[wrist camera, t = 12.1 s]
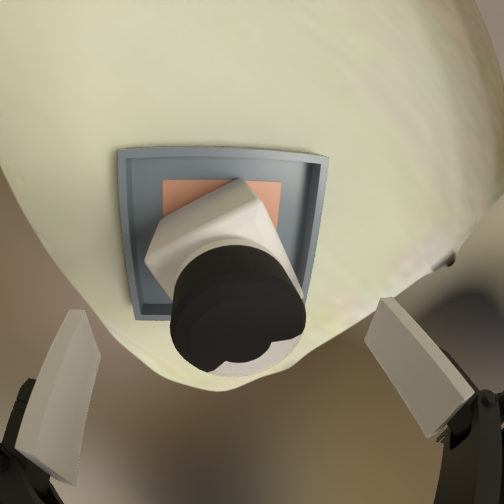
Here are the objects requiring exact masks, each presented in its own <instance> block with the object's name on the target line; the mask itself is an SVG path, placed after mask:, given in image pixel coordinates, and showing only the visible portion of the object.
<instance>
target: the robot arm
mask: <svg viewBox="0 0 504 504" xmlns="http://www.w3.org/2000/svg"><path fill="white" fill-rule="evenodd" d="M364 341H365V343H366V345H367V346H368V347H369V349H370V350H371V352H372V353H373V355H374V356H375V358H376V359H377V361H378V362H379V364H380V365H381V367H382V368H383V370H384V371H385V373H386V374H387V376H388V377H389V379H390V380H391V382H392V383H393V385H394V386H395V388H396V389H397V391H398V392H399V394H400V396H401V397H402V399H403V400H404V402H405V403H406V405H407V407H408V408H409V410H410V411H411V413H412V415H413V416H414V418H415V419H416V421H417V422H418V424H419V426H420V427H421V429H422V431H423V432H424V434H425V436H426V437H427V438H429V437H430V436H432V435H434V434H435V433H437V432H439V431H440V430H441V429H442V428H443V427H444V426H445V425H446V424H447V425H448V427H447V429H446V430H444V432H442V433H441V434H440V435H439V437H438V438H437V440H436V442H439V441H440V440H441V439H442V438H443V437H444V436H445V438H443V440H442V441H441V443H444V449H443V456H442V463H441V470H440V476H439V481H438V486H437V491H436V495H435V500H434V504H504V428H503V429H502V430H501V424H502V423H503V422H504V391H503V392H501V393H497V394H494V393H493V392H491V391H489V390H482V391H479V389H478V388H477V387H476V386H475V385H474V384H473V382H472V381H471V380H470V378H469V377H468V376H467V375H466V374H465V372H464V371H463V370H462V369H461V368H460V366H459V365H458V364H457V363H456V362H455V360H454V359H453V358H452V357H451V356H450V354H449V353H447V352H446V351H445V350H443V349H442V348H440V347H439V348H438V346H437V345H436V344H435V343H434V342H433V341H432V340H431V338H430V337H429V336H428V335H427V334H426V333H425V332H424V331H423V329H422V328H421V327H420V326H419V325H418V324H417V323H416V322H415V321H414V320H413V319H412V317H410V315H409V314H408V313H407V312H406V311H405V310H404V309H403V308H402V307H401V306H400V305H399V304H398V303H397V302H396V300H394V298H393V297H387V298H380V301H379V304H378V307H377V309H376V312H375V315H374V317H373V320H372V323H371V325H370V327H369V330H368V332H367V335H366V337H365V339H364ZM100 359H101V354H100V352H99V349H98V347H97V344H96V341H95V339H94V336H93V333H92V330H91V327H90V324H89V321H88V318H87V315H86V312H85V310H77V309H70V310H69V311H68V313H67V315H66V317H65V319H64V321H63V323H62V325H61V327H60V329H59V331H58V333H57V335H56V337H55V339H54V341H53V343H52V345H51V348H50V350H49V352H48V354H47V356H46V359H45V361H44V363H43V366H42V368H41V370H40V373H39V375H38V378H37V380H35V379H30V378H29V379H28V380H27V381H26V382H25V383H24V384H23V385H22V386H21V388H20V390H19V393H18V396H17V401H15V403H14V407H13V410H12V412H11V415H10V418H9V421H8V424H7V427H6V431H5V434H4V437H3V440H2V443H0V504H64V503H63V501H62V500H61V498H60V497H59V495H58V494H57V492H56V490H55V488H54V487H53V485H52V484H51V483H50V481H49V479H50V476H51V477H53V478H54V479H56V480H58V481H60V482H63V483H66V484H70V485H74V486H76V482H77V473H78V464H79V457H80V450H81V444H82V437H83V432H84V426H85V421H86V416H87V411H88V407H89V402H90V398H91V394H92V389H93V386H94V382H95V378H96V374H97V370H98V367H99V362H100Z"/></svg>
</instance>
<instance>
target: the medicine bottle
mask: <svg viewBox="0 0 504 504" xmlns="http://www.w3.org/2000/svg"><path fill="white" fill-rule="evenodd" d="M145 264H146V266H147V267H148V268H149V270H150V271H151V273H152V274H153V276H154V277H155V278H156V280H157V281H158V283H159V284H160V285H161V287H162V288H163V289H164V291H165V292H166V293H167V295H168V296H169V297H170V299H171V300H172V301H173V303H172V312H171V322H170V333H171V338H172V341H173V344H174V346H175V348H176V349H177V351H178V352H179V354H180V355H181V356H182V357H183V358H184V359H185V360H187V361H188V362H189V363H190V364H192V365H193V366H195V367H197V368H198V369H200V370H202V371H205V372H207V373H210V374H213V375H218V376H226V377H239V376H247V375H252V374H255V373H259V372H262V371H264V370H267V369H269V368H271V367H273V366H274V365H276V364H278V363H279V362H281V361H282V360H283V359H284V358H286V357H287V356H288V355H289V354H290V353H291V351H292V350H293V349H294V348H295V346H296V345H297V343H298V341H299V340H300V338H301V336H302V334H303V331H304V328H305V323H306V311H305V306H304V303H303V301H302V298H303V291H302V289H301V287H300V284H299V282H298V280H297V277H296V275H295V273H294V270H293V268H292V266H291V264H290V261H289V259H288V257H287V254H286V252H285V250H284V248H283V245H282V243H281V241H280V239H279V236H278V234H277V232H276V230H275V227H274V225H273V223H272V221H271V219H270V216H269V214H268V212H267V210H266V208H265V205H264V203H263V202H262V201H261V199H260V198H259V197H258V196H257V195H256V194H255V192H254V191H253V190H252V189H251V188H250V187H249V185H248V184H247V183H246V182H245V181H244V180H243V179H242V178H238V179H236V180H234V181H232V182H230V183H228V184H226V185H224V186H222V187H220V188H218V189H216V190H214V191H212V192H210V193H208V194H206V195H204V196H202V197H200V198H198V199H197V200H195V201H193V202H191V203H189V204H187V205H185V206H183V207H182V208H180V209H178V210H176V211H174V212H173V213H171V214H169V215H167V216H165V217H164V218H162V219H161V220H160V221H159V224H158V226H157V229H156V231H155V233H154V236H153V238H152V241H151V243H150V246H149V249H148V251H147V254H146V256H145Z"/></svg>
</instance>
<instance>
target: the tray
mask: <svg viewBox="0 0 504 504" xmlns="http://www.w3.org/2000/svg"><path fill="white" fill-rule="evenodd" d="M328 164H329V157H327V156H323V155H319V154H314V153H306V152H297V151H287V150H276V149H263V148H248V147H226V146H158V147H136V148H125V149H121V150H118V188H119V205H120V218H121V229H122V239H123V247H124V255H125V263H126V270H127V276H128V282H129V288H130V294H131V300H132V305H133V310H134V315H135V320H155V321H171V312H172V303H173V301H172V300H171V299H170V297H169V296H168V295H167V293H166V292H165V291H164V289H163V288H162V287H161V285H160V284H159V283H158V281H157V280H156V278H155V277H154V276H153V274H152V273H151V271H150V270H149V268H148V267H147V266H146V264H145V256H146V254H147V251H148V249H149V246H150V243H151V241H152V238H153V236H154V233H155V231H156V229H157V226H158V224H159V221H160V220H161V219H162V218H164V217H165V216H167V215H169V214H171V213H173V212H174V211H176V210H178V209H180V208H182V207H183V206H185V205H187V204H189V203H191V202H193V201H195V200H197V199H198V198H200V197H202V196H204V195H206V194H208V193H210V192H212V191H214V190H216V189H218V188H220V187H222V186H224V185H226V184H228V183H230V182H232V181H234V180H236V179H238V178H242V179H243V180H244V181H245V182H246V183H247V184H248V185H249V187H250V188H251V189H252V190H253V191H254V192H255V194H256V195H257V196H258V197H259V198H260V199H261V201H262V202H263V203H264V205H265V208H266V210H267V212H268V214H269V216H270V219H271V221H272V223H273V225H274V227H275V230H276V232H277V234H278V236H279V239H280V241H281V243H282V245H283V248H284V250H285V252H286V254H287V257H288V259H289V261H290V264H291V266H292V268H293V270H294V273H295V275H296V277H297V280H298V282H299V284H300V287H301V289H302V291H303V298H302V301H303V303H304V306H305V303H306V298H307V293H308V288H309V283H310V278H311V273H312V268H313V262H314V257H315V251H316V246H317V240H318V234H319V228H320V221H321V215H322V209H323V202H324V195H325V188H326V180H327V172H328Z"/></svg>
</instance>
